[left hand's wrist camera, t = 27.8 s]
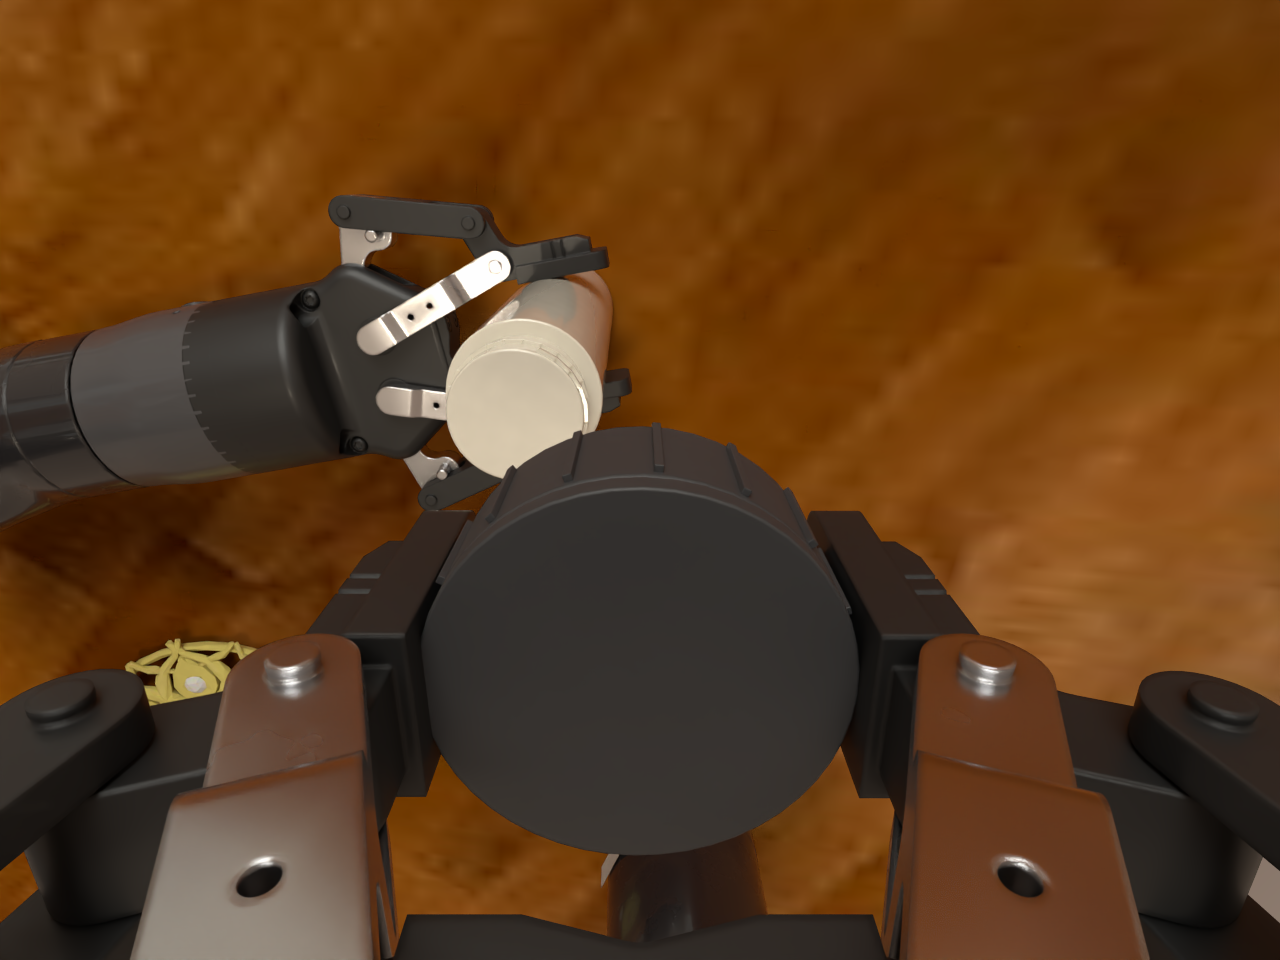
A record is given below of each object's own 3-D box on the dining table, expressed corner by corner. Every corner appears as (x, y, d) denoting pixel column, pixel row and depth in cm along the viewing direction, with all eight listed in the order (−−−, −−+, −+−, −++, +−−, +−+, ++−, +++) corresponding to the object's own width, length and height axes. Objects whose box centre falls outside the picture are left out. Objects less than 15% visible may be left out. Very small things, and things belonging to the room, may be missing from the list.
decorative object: (431, 737, 45) (283, 948, 50) (439, 712, 47) (297, 916, 52) (91, 569, 40) (-36, 821, 45) (118, 551, 43) (-5, 791, 47)
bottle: (586, 370, 39) (553, 522, 21) (505, 327, 38) (402, 450, 21) (629, 290, 37) (631, 383, 20) (545, 243, 36) (471, 298, 19)
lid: (750, 772, 12) (773, 894, 10) (426, 697, 11) (379, 809, 9) (878, 480, 10) (938, 555, 8) (500, 375, 10) (462, 426, 8)
